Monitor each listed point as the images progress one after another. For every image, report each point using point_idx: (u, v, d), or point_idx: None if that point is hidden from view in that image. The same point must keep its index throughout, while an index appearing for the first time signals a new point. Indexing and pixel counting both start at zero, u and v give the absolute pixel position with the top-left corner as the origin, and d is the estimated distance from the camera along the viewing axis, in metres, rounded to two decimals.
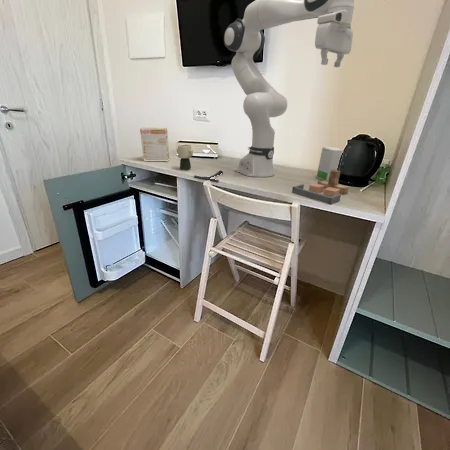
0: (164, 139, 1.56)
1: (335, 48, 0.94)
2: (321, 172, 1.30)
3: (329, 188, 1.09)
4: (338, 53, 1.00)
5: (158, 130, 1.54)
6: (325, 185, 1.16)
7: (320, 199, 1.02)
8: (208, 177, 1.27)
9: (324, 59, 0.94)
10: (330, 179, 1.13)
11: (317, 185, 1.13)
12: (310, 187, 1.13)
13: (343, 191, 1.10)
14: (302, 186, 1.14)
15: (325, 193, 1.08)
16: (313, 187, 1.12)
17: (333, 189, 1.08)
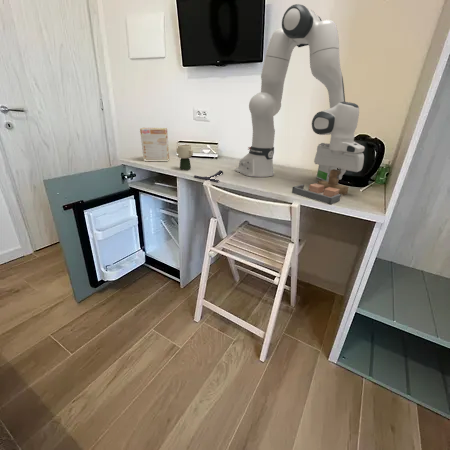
0: (164, 139, 1.56)
1: None
2: (321, 172, 1.30)
3: (329, 188, 1.09)
4: (324, 165, 1.15)
5: (158, 130, 1.54)
6: (325, 185, 1.16)
7: (320, 199, 1.02)
8: (208, 177, 1.28)
9: (341, 175, 1.11)
10: (330, 179, 1.13)
11: (317, 185, 1.13)
12: (310, 187, 1.13)
13: (343, 190, 1.10)
14: (302, 186, 1.14)
15: (325, 193, 1.08)
16: (313, 187, 1.12)
17: (333, 189, 1.08)
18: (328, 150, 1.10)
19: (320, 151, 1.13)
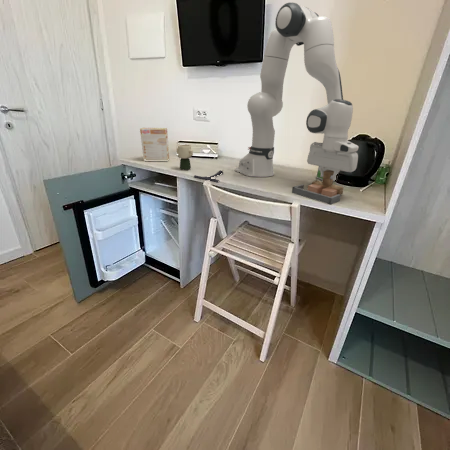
0: (164, 139, 1.56)
1: None
2: None
3: (327, 188, 1.08)
4: (317, 165, 1.11)
5: (158, 130, 1.54)
6: None
7: (320, 199, 1.02)
8: (208, 177, 1.28)
9: (335, 176, 1.07)
10: (324, 180, 1.10)
11: (315, 186, 1.12)
12: (308, 188, 1.12)
13: (338, 192, 1.07)
14: (302, 186, 1.14)
15: (323, 193, 1.08)
16: (311, 188, 1.11)
17: (331, 189, 1.07)
18: (321, 149, 1.06)
19: (313, 150, 1.09)
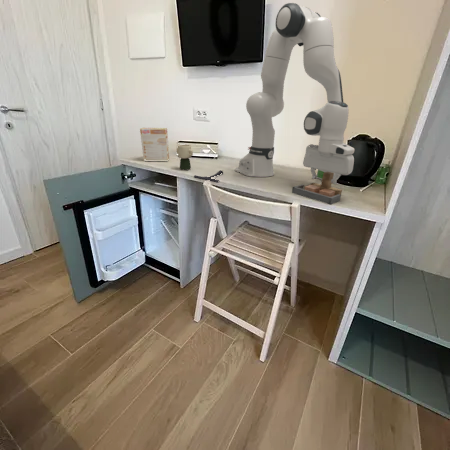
0: (164, 139, 1.56)
1: None
2: (321, 172, 1.30)
3: (324, 190, 1.07)
4: None
5: (158, 130, 1.54)
6: None
7: (320, 199, 1.02)
8: (208, 177, 1.28)
9: (336, 180, 1.04)
10: (323, 181, 1.10)
11: (312, 187, 1.10)
12: (305, 189, 1.11)
13: (337, 193, 1.06)
14: (302, 186, 1.14)
15: None
16: (308, 189, 1.10)
17: (328, 191, 1.06)
18: (317, 152, 1.05)
19: (309, 153, 1.08)
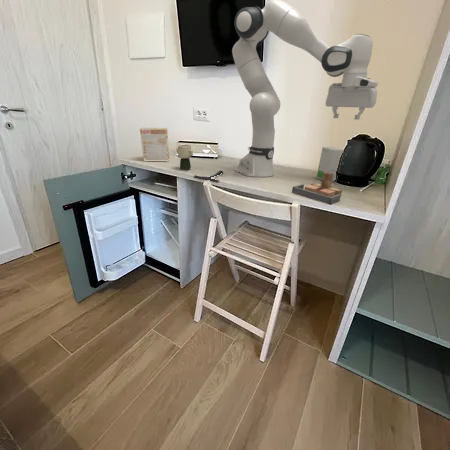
0: (164, 139, 1.56)
1: None
2: (321, 172, 1.30)
3: (324, 190, 1.07)
4: (336, 106, 1.14)
5: (158, 130, 1.54)
6: None
7: (320, 199, 1.02)
8: (208, 177, 1.28)
9: (359, 115, 1.08)
10: (323, 181, 1.10)
11: (313, 187, 1.10)
12: (306, 189, 1.11)
13: (336, 194, 1.06)
14: (302, 186, 1.14)
15: None
16: (309, 189, 1.10)
17: (328, 191, 1.06)
18: (340, 89, 1.09)
19: (332, 91, 1.12)
